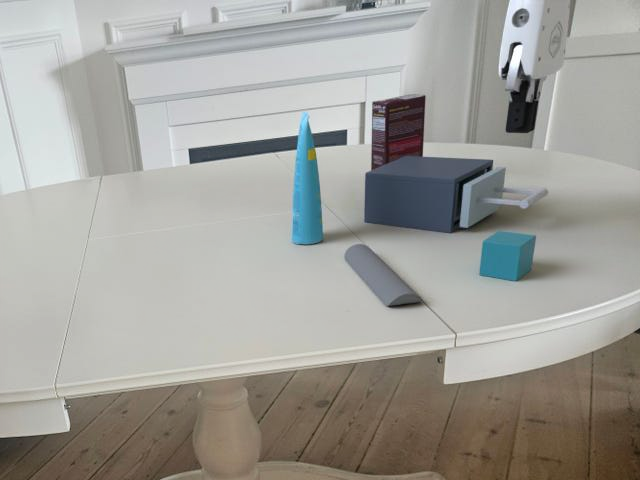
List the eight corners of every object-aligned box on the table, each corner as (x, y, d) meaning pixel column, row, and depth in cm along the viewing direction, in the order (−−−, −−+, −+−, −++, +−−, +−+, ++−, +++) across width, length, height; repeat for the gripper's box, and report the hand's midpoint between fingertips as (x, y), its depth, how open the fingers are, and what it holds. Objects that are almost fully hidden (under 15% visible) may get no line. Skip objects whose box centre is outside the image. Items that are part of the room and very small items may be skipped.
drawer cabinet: (487, 211, 102) (493, 159, 98) (450, 233, 95) (455, 178, 91) (403, 202, 112) (405, 155, 108) (364, 222, 105) (365, 172, 101)
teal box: (531, 269, 79) (536, 235, 77) (516, 281, 77) (521, 246, 75) (494, 264, 82) (498, 230, 80) (478, 275, 80) (482, 240, 78)
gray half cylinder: (372, 253, 91) (372, 241, 91) (425, 305, 74) (426, 291, 73) (342, 257, 92) (342, 245, 91) (388, 310, 74) (389, 296, 73)
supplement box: (406, 178, 126) (410, 93, 119) (422, 182, 122) (427, 94, 115) (368, 186, 124) (370, 100, 117) (383, 191, 120) (386, 102, 113)
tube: (327, 245, 97) (327, 113, 88) (296, 249, 97) (292, 118, 88) (317, 231, 104) (316, 107, 95) (288, 235, 104) (283, 112, 95)
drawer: (550, 212, 94) (557, 169, 92) (518, 234, 88) (524, 189, 85) (419, 200, 109) (422, 162, 106) (384, 217, 103) (385, 178, 100)
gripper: (550, -22, 73) (526, 143, 81) (595, -28, 81) (569, 122, 89) (483, -13, 78) (467, 141, 86) (533, -20, 86) (513, 121, 95)
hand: (519, 131), depth 88 cm, fingers closed
